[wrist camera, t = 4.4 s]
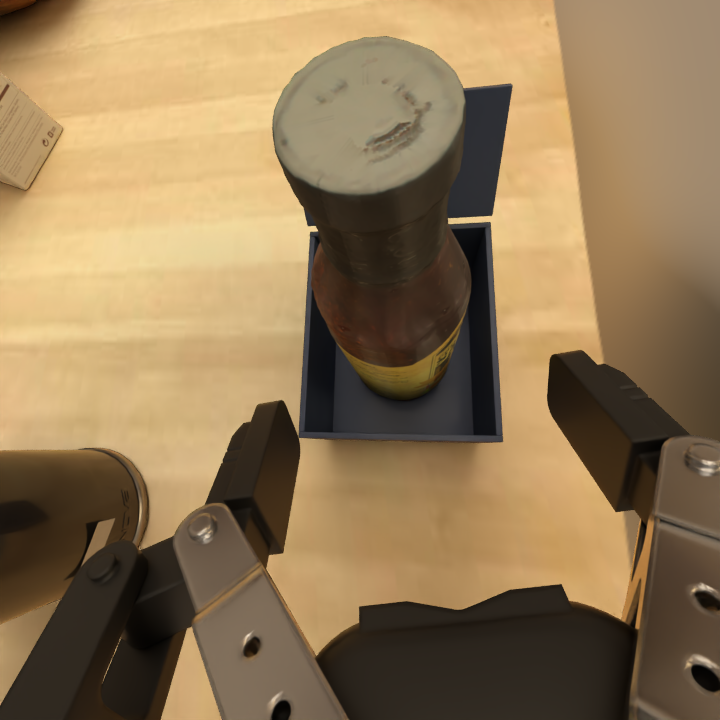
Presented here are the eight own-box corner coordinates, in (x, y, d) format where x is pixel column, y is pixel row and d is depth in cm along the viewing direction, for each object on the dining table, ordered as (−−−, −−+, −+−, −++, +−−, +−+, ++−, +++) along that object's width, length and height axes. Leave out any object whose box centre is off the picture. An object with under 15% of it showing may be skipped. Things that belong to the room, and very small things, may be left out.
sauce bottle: (451, 400, 25) (564, 265, 6) (358, 405, 26) (210, 297, 7) (442, 308, 27) (514, -30, 8) (355, 316, 28) (224, 25, 9)
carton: (329, 439, 26) (298, 437, 19) (335, 283, 29) (310, 231, 22) (477, 443, 25) (503, 442, 18) (470, 279, 27) (490, 221, 20)
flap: (281, 108, 17) (282, 106, 17) (307, 226, 21) (308, 223, 21) (512, 85, 16) (511, 83, 16) (492, 215, 20) (491, 213, 20)
